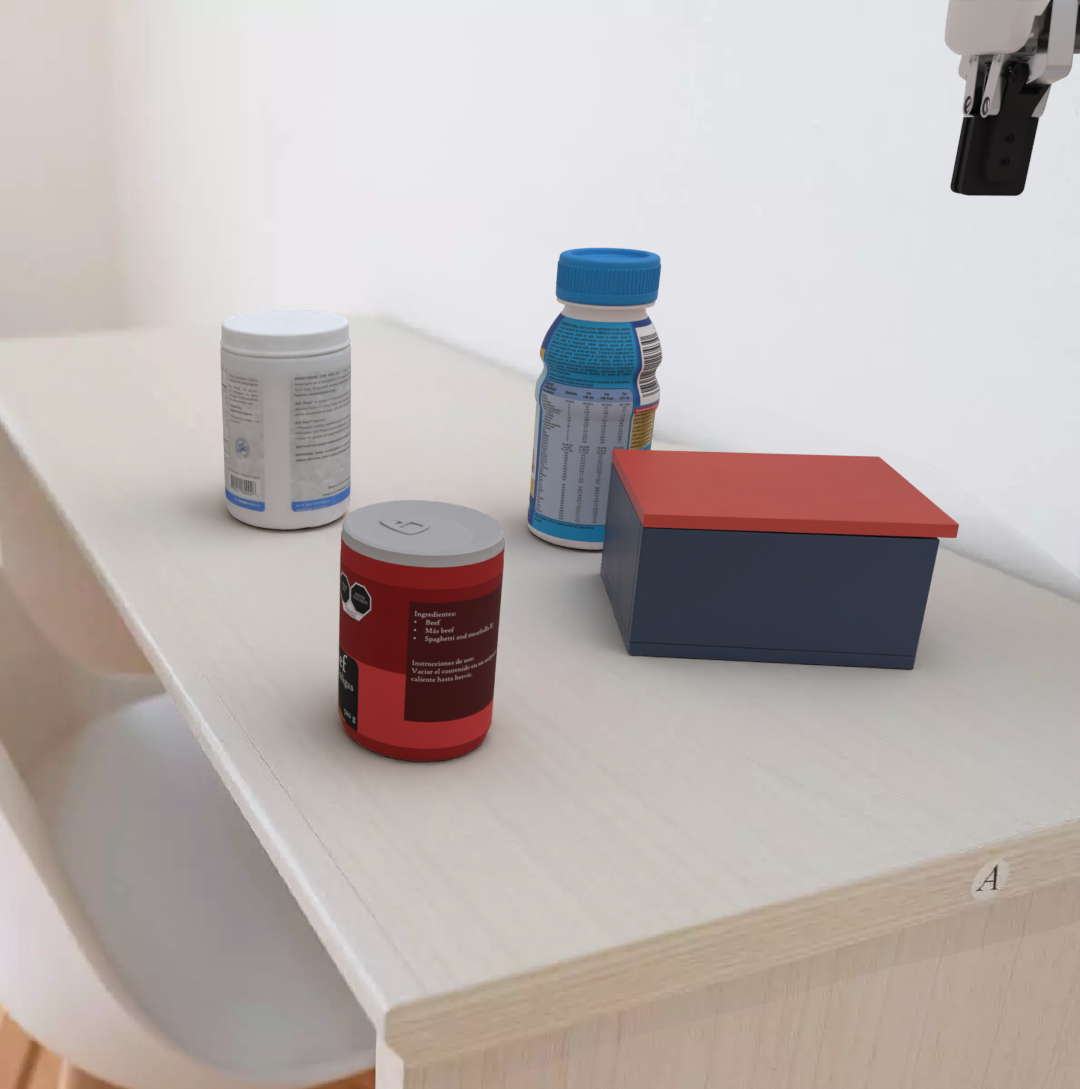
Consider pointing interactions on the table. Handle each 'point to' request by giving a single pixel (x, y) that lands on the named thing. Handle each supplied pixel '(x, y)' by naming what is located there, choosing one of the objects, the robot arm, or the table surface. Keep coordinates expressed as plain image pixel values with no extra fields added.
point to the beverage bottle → (593, 389)
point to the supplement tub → (286, 417)
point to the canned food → (419, 627)
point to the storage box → (764, 592)
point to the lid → (777, 493)
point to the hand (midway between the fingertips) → (985, 193)
